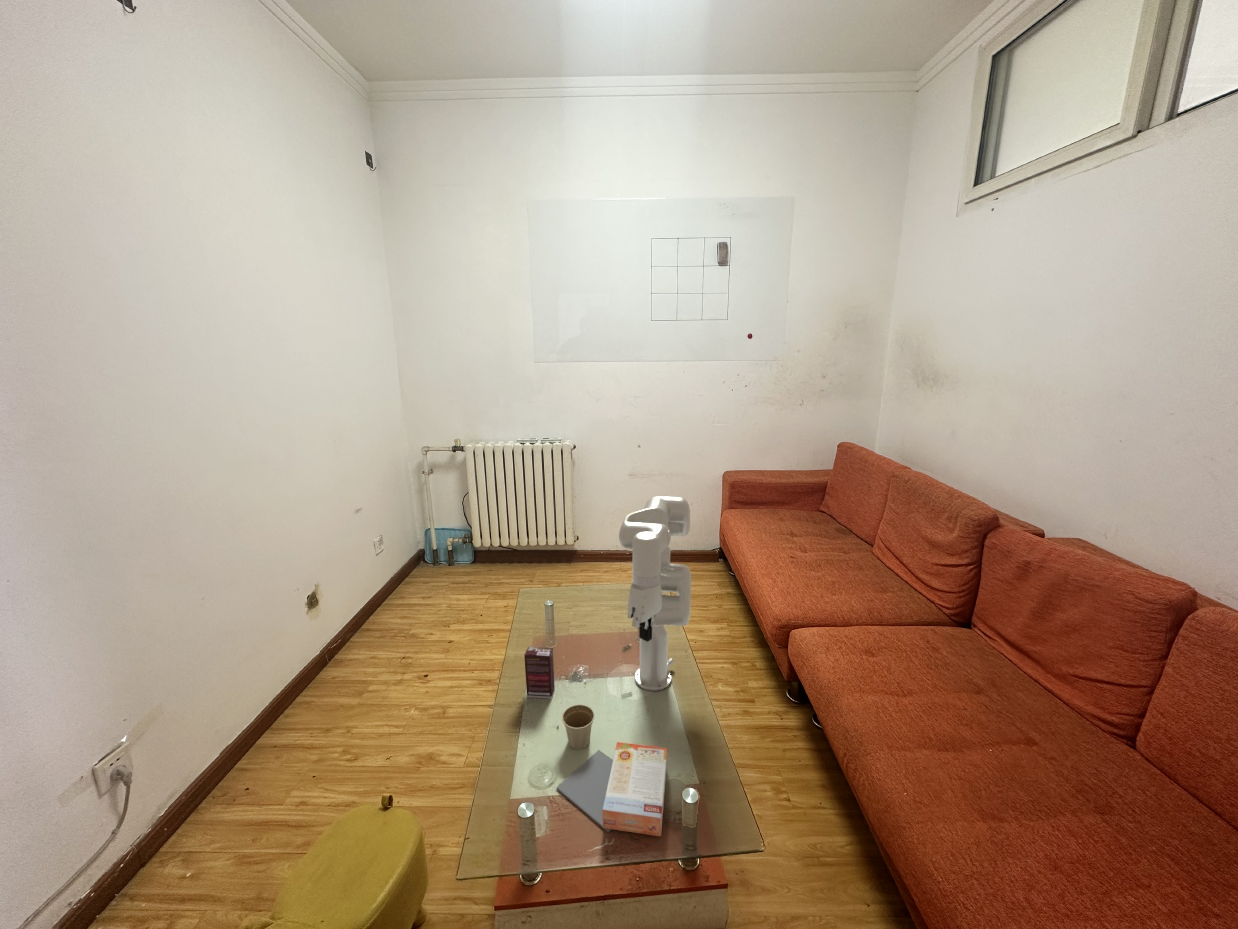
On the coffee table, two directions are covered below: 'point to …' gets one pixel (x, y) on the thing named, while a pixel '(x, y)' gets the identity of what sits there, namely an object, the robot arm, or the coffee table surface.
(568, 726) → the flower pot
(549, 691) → the supplement box
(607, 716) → the coffee table surface
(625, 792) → the cracker box
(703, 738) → the coffee table surface
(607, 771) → the mat
